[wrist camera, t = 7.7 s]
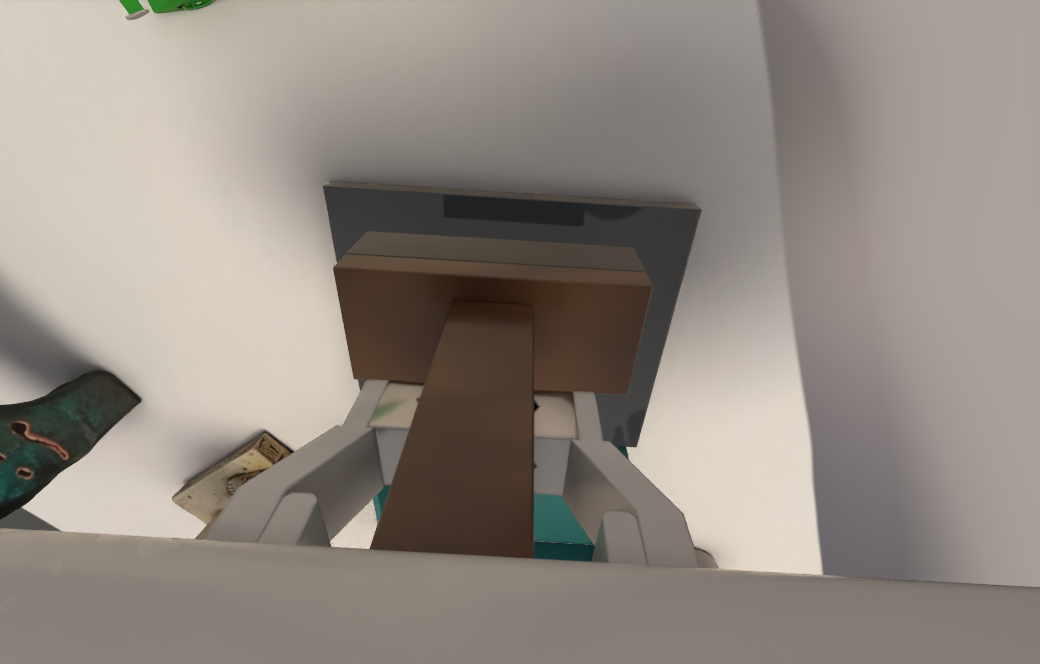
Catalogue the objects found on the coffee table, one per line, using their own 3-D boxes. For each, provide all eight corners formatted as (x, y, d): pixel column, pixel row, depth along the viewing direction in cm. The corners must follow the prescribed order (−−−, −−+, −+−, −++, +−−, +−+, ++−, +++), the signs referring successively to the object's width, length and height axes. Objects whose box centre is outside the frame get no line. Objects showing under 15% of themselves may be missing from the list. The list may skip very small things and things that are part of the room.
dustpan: (381, 424, 31) (365, 461, 28) (624, 439, 31) (633, 478, 28) (408, 600, 43) (399, 638, 40) (581, 611, 43) (584, 649, 40)
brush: (633, 246, 15) (796, 567, 6) (613, 344, 17) (708, 694, 8) (366, 230, 15) (88, 527, 6) (380, 330, 17) (196, 666, 8)
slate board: (696, 203, 22) (702, 209, 21) (634, 436, 30) (636, 447, 30) (330, 180, 22) (322, 185, 21) (371, 420, 30) (367, 430, 30)
